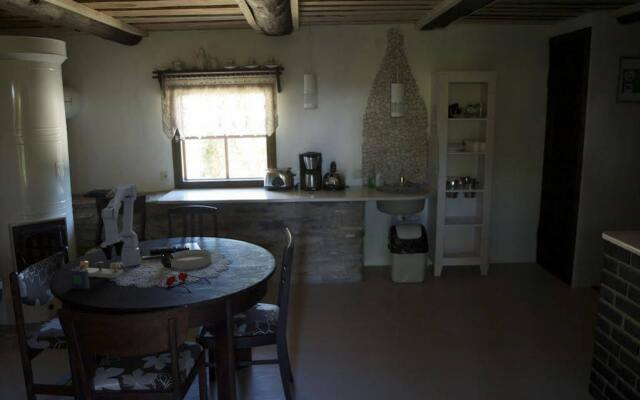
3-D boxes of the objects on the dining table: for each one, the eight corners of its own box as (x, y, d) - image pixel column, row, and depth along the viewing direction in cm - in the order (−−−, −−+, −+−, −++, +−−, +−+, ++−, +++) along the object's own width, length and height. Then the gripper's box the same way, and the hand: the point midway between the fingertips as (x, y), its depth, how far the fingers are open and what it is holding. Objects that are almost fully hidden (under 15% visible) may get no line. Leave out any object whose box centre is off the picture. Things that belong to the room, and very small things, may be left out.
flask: (91, 287, 239) (88, 266, 237) (86, 290, 236) (84, 268, 234) (74, 286, 242) (72, 265, 240) (70, 288, 239) (67, 267, 237)
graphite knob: (103, 268, 261) (102, 260, 261) (104, 270, 258) (104, 262, 257) (95, 269, 259) (94, 262, 259) (96, 271, 256) (95, 264, 255)
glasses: (186, 279, 249) (185, 269, 248) (211, 284, 241) (211, 274, 240) (164, 288, 237) (164, 278, 237) (190, 293, 229) (189, 283, 228)
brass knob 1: (88, 267, 263) (88, 260, 263) (89, 269, 260) (89, 261, 259) (80, 268, 261) (79, 261, 261) (81, 270, 258) (80, 263, 257)
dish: (161, 267, 270) (160, 258, 269) (186, 256, 290) (186, 248, 289) (195, 271, 261) (195, 262, 261) (219, 259, 282) (219, 251, 281)
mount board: (123, 273, 260) (123, 269, 259) (114, 278, 253) (114, 274, 253) (86, 271, 265) (86, 267, 265) (77, 275, 258) (77, 271, 258)
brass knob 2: (118, 269, 259) (118, 261, 258) (120, 271, 256) (119, 263, 255) (110, 270, 257) (109, 263, 256) (111, 272, 254) (111, 264, 253)
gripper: (109, 235, 245) (111, 262, 247) (127, 228, 259) (129, 254, 261) (96, 234, 247) (99, 261, 249) (115, 228, 260) (117, 253, 263)
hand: (114, 257), depth 255 cm, fingers open, 7 cm apart
